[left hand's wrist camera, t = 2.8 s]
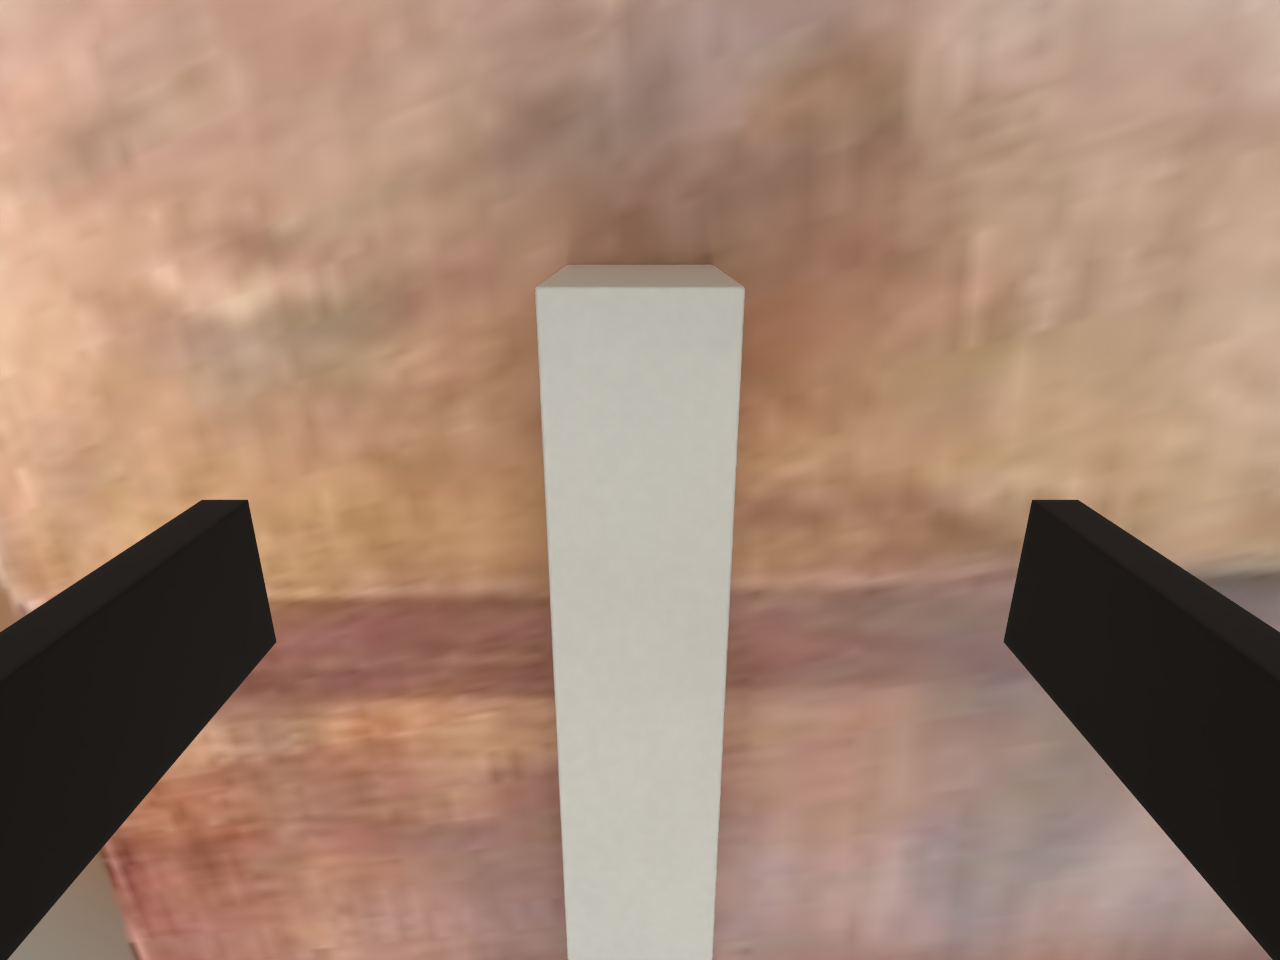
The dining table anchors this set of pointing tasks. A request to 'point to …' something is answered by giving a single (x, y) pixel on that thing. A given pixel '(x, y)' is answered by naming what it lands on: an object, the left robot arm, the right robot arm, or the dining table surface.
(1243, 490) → the dining table surface
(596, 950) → the post
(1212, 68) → the dining table surface
